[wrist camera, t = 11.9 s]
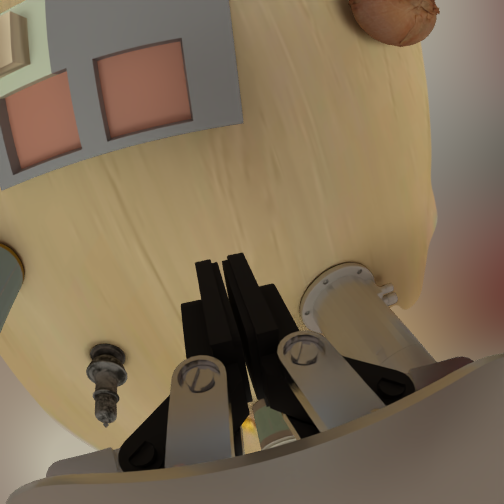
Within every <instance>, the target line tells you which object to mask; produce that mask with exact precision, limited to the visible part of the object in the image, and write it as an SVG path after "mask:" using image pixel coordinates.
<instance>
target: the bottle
mask: <svg viewBox="0 0 504 504" xmlns="http://www.w3.org/2000/svg"><path fill="white" fill-rule="evenodd" d="M23 280H24V269H23V266H22V263H21V261H20V260H19V258H18V256H17V255H16V254H15V253H14V252H13V251H12V250H11V249H10V248H8V247H7V246H5V245H3V244H0V332H1V330H2V327H3V325H4V323H5V320H6V318H7V316H8V314H9V311H10V309H11V307H12V305H13V303H14V300H15V298H16V296H17V294H18V292H19V290H20V288H21V286H22V284H23Z"/></svg>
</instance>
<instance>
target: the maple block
mask: <svg viewBox="0 0 504 504" xmlns="http://www.w3.org/2000/svg"><path fill="white" fill-rule="evenodd" d="M27 65H30V54H29V43H28V27H27V18H25V17H23V16H20V15H18V14H16V13H13V12H11V11H9V12H7V13H5V14H3V15H1V16H0V79H1V78H3V77H5V76H6V75H8V74H10V73H13V72H15V71H17V70H19V69H21V68H23V67H25V66H27Z"/></svg>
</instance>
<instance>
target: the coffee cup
mask: <svg viewBox="0 0 504 504" xmlns="http://www.w3.org/2000/svg"><path fill="white" fill-rule="evenodd" d="M253 413H254V418H255V423H256V428H257V432H258V437H259V441H260V446H261V451H262V450H265V449H269V448H273V447H276V446H280V445H283V444H287V443H290V442H293V441H297V440H296V438H295V437H294V435H293V434H292V432H291V430H290V429H289V427H288V425H287V424H286V422H285V421H284V419H283V416H282V414H281V412H278V411H276V410H273V409H271V408H270V406H269V407H266V404H265V401H264V399H261V400H259V401H258V402H256V403H255V404H254V405H253Z"/></svg>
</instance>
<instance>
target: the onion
mask: <svg viewBox="0 0 504 504" xmlns="http://www.w3.org/2000/svg"><path fill="white" fill-rule="evenodd" d="M434 1H435V0H349V5H351V9H352V12H353V15H354V17H355V20H356V21H357V23H358V24H359V26H360V27H361V28H362V29H363V30H364V31H365V32H366V33H367V34H368V35H370V36H371V37H372V38H374V39H376V40H378V41H380V42H382V43H385V44H387V45H388V44H389V45H394V46H399V47H403V46H408V45H413V44H416V43H418V42H420V41H422V40H424V39H425V38H426V37H427V36H428V35H429V34H430V32H431V31H432V30H433V28H434V25H435V22H436V15H437V13H438V14H439V12H440V11H439V8H437V6H436V4H435V2H434Z"/></svg>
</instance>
